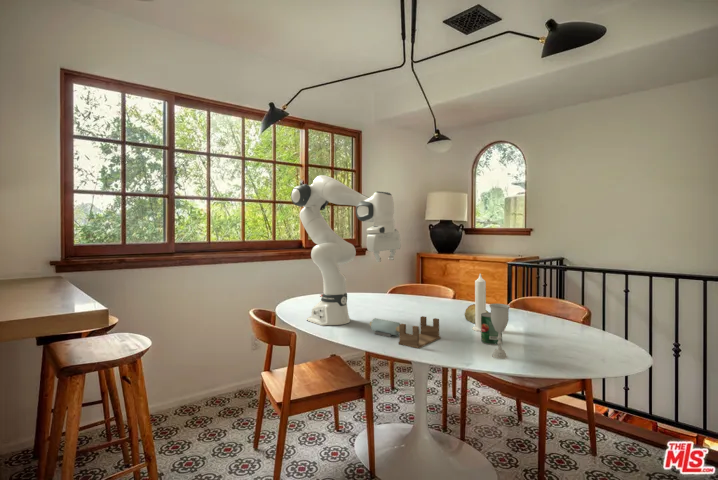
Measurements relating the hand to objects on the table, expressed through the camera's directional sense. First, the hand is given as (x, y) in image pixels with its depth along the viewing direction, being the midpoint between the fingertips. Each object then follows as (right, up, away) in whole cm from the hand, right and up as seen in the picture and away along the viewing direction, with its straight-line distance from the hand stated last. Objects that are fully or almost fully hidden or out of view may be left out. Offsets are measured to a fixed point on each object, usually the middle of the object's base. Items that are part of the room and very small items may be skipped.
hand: (385, 261), depth 171 cm
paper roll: (0, -28, -1) cm, 28 cm away
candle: (+42, -31, +4) cm, 53 cm away
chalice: (+38, -32, -32) cm, 59 cm away
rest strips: (0, -32, -1) cm, 31 cm away
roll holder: (+13, -32, -12) cm, 36 cm away
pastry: (+46, -30, +20) cm, 59 cm away
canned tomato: (+41, -32, -15) cm, 54 cm away
